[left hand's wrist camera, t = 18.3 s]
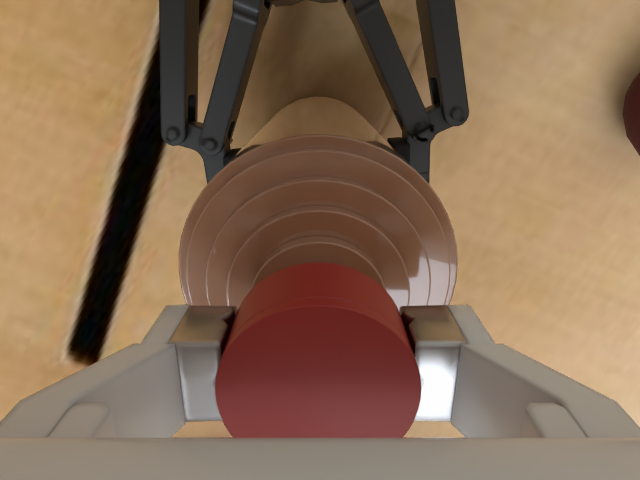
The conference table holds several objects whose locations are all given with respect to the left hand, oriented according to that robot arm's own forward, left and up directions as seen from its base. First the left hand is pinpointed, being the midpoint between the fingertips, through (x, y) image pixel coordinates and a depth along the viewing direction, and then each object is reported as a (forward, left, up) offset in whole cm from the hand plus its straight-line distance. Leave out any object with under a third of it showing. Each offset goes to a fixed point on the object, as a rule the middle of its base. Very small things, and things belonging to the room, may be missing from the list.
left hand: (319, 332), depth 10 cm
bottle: (0, 0, -22) cm, 22 cm away
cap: (0, 0, +2) cm, 2 cm away
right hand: (0, -5, -15) cm, 16 cm away
